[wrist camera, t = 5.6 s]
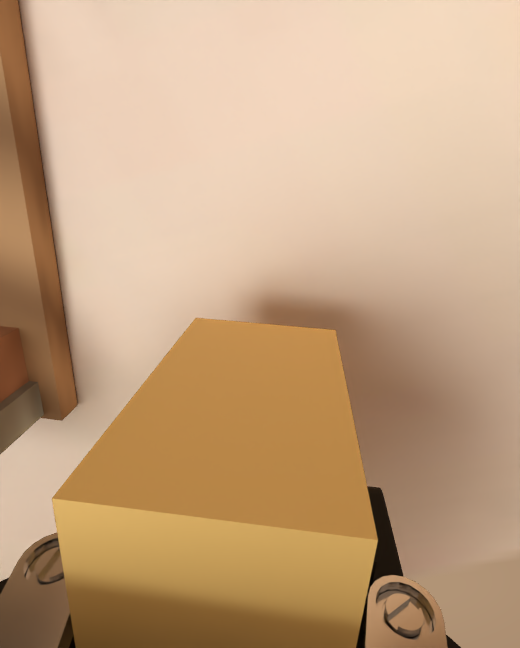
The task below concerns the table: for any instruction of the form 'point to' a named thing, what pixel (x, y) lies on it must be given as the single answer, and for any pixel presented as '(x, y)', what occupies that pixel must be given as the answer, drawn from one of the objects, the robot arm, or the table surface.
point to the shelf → (26, 258)
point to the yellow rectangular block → (224, 501)
